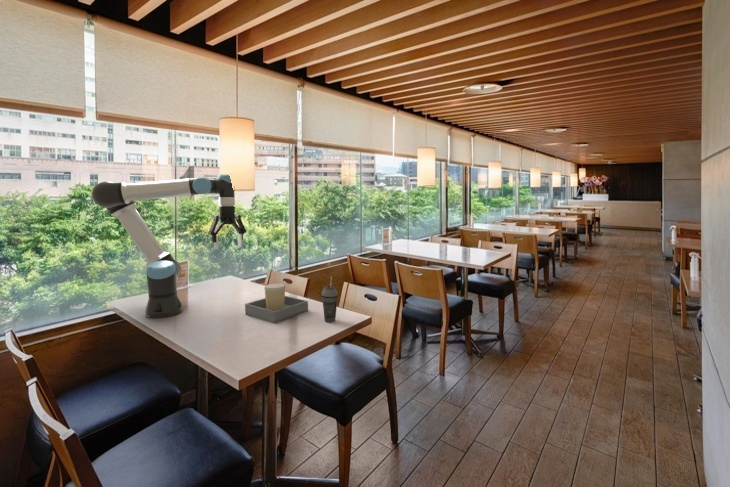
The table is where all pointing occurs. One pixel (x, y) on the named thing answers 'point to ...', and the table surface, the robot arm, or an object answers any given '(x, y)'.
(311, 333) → the table surface
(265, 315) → the grey bin
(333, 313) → the beverage cup
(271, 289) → the coffee cup
